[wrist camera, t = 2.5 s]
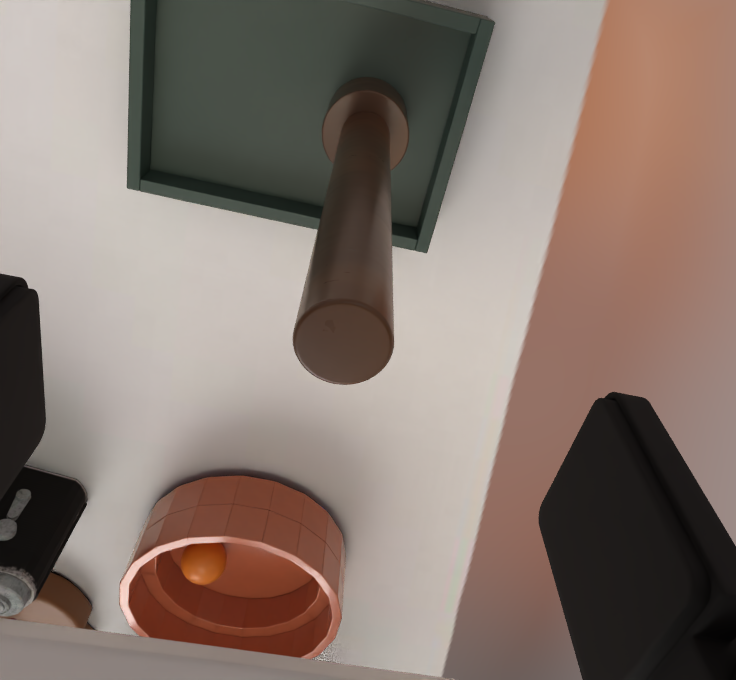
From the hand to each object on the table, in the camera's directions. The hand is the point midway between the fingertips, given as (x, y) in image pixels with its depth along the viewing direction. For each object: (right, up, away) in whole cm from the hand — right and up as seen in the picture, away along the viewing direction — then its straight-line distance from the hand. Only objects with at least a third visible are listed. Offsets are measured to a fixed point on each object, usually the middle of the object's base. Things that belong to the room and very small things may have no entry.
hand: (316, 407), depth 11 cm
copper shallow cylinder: (-8, -13, +34) cm, 37 cm away
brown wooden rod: (+1, +11, +18) cm, 21 cm away
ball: (-10, -14, +32) cm, 36 cm away
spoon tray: (-2, +12, +18) cm, 22 cm away
